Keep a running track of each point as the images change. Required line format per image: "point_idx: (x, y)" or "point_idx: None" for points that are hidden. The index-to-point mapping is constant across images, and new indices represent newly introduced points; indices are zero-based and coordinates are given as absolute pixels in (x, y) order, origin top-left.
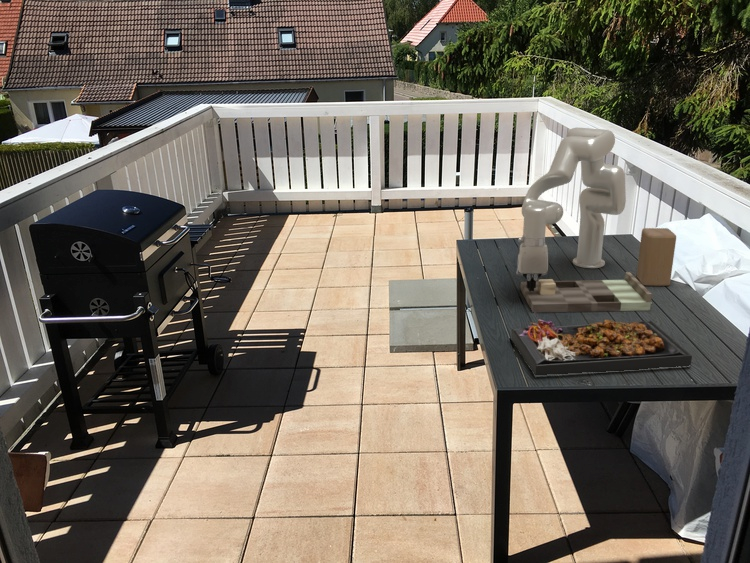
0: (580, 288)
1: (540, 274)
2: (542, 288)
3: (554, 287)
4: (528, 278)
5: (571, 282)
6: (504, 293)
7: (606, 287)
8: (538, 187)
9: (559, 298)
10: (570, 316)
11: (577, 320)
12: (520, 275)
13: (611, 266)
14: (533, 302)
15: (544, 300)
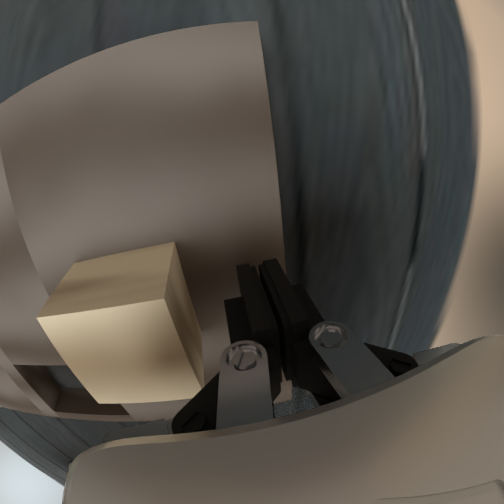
0: (5, 354)
1: (186, 426)
2: (155, 273)
3: (55, 296)
4: (338, 346)
5: (66, 409)
6: (362, 314)
7: None
8: None
9: (37, 194)
10: (26, 51)
11: (13, 21)
12: (429, 349)
13: (57, 460)
14: (248, 60)
15: (143, 119)
